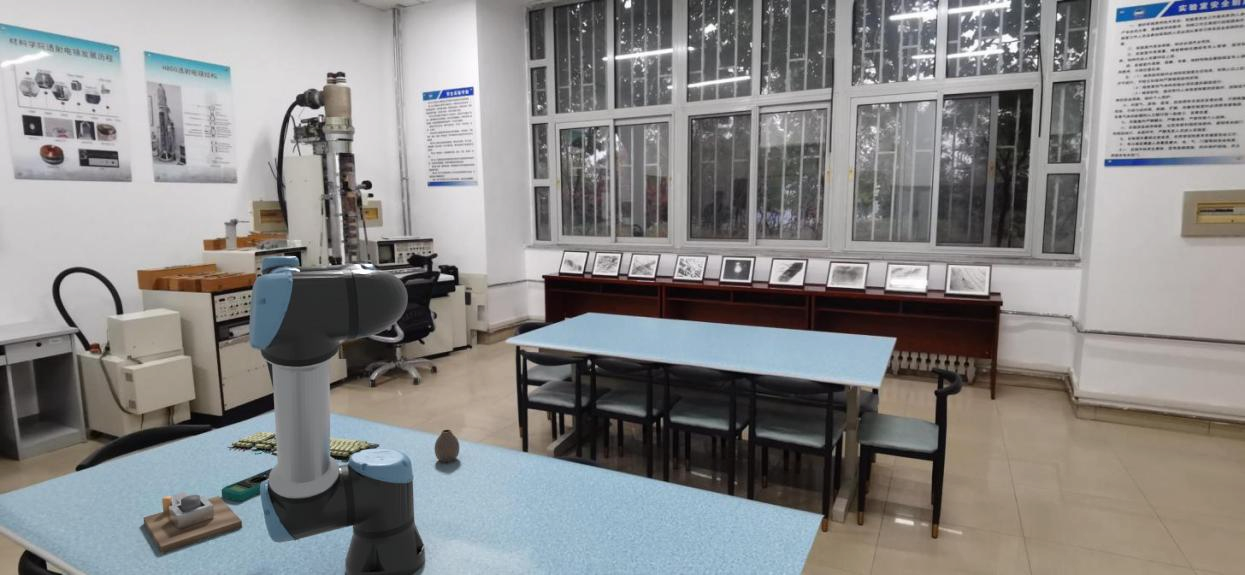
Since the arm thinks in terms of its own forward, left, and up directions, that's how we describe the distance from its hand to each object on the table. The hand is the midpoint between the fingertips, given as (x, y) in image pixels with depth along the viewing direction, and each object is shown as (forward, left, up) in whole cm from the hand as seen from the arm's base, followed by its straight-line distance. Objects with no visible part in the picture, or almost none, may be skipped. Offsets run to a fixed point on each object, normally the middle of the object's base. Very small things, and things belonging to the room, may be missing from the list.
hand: (292, 424), depth 145 cm
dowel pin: (+20, +21, -21) cm, 36 cm away
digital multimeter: (+23, +2, -23) cm, 32 cm away
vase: (+3, -42, -22) cm, 47 cm away
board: (+12, +18, -22) cm, 31 cm away
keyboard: (+43, -16, -23) cm, 52 cm away
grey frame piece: (+15, +19, -20) cm, 31 cm away
